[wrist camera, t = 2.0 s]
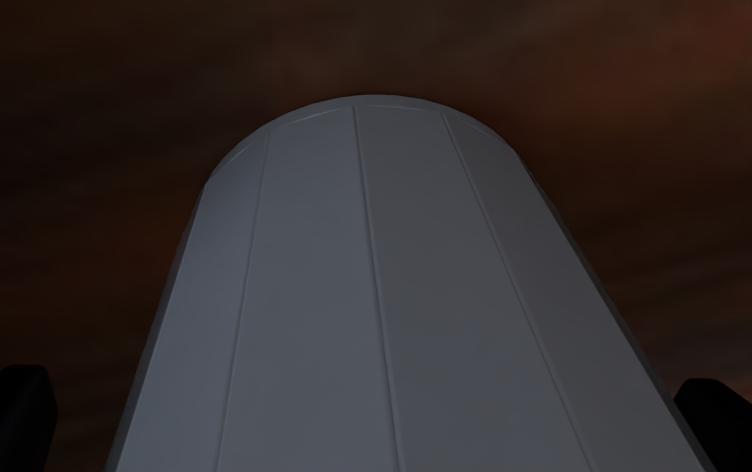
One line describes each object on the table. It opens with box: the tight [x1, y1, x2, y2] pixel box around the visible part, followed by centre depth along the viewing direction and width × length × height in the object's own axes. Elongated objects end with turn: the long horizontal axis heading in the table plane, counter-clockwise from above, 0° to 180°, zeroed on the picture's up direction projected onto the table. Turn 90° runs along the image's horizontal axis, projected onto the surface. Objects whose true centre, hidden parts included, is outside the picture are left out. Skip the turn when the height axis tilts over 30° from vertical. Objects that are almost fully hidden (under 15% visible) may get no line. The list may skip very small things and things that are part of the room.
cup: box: [103, 95, 717, 472], centre depth 8 cm, size 6×6×7 cm
